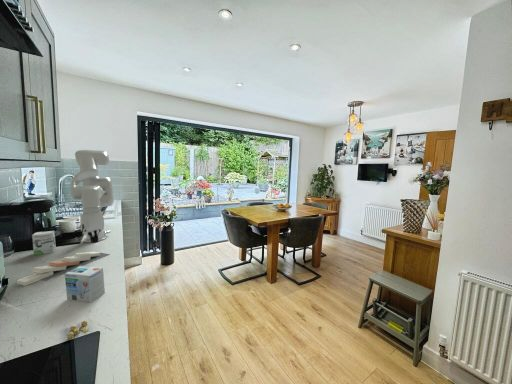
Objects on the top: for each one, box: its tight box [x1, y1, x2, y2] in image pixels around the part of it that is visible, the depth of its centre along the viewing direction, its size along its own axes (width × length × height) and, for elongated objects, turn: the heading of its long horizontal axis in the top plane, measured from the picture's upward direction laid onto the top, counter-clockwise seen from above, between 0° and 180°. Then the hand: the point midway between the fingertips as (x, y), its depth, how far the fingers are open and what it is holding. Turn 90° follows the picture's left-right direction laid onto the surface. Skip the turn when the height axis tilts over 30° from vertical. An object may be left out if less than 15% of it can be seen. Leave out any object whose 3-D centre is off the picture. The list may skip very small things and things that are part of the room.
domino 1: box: [16, 271, 53, 287], centre depth 96 cm, size 2×5×10 cm
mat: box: [40, 251, 111, 282], centre depth 110 cm, size 30×12×1 cm, turn 162°
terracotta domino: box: [48, 260, 80, 267], centre depth 106 cm, size 2×5×10 cm
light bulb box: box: [64, 265, 106, 303], centre depth 84 cm, size 11×7×11 cm, turn 82°
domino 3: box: [62, 255, 91, 262], centre depth 111 cm, size 2×5×10 cm
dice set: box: [66, 319, 90, 341], centre depth 67 cm, size 5×5×2 cm
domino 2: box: [32, 265, 66, 273], centre depth 100 cm, size 2×5×10 cm
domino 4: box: [74, 251, 102, 258], centre depth 116 cm, size 2×5×10 cm
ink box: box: [31, 230, 57, 256], centre depth 124 cm, size 9×5×12 cm, turn 120°
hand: (94, 242), depth 119 cm, fingers closed
